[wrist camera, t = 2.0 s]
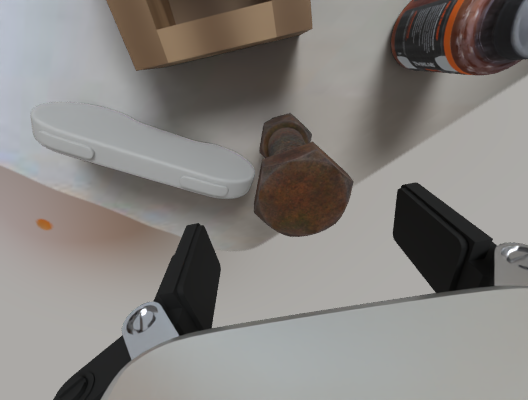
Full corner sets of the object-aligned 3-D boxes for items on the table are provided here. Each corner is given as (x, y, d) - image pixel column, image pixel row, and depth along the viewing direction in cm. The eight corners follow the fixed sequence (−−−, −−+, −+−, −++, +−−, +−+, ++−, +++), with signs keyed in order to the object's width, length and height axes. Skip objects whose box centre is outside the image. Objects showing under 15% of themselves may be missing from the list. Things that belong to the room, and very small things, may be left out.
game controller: (74, 117, 25) (1, 142, 18) (73, 95, 24) (-6, 112, 17) (250, 174, 29) (247, 212, 22) (256, 157, 27) (255, 192, 20)
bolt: (296, 157, 27) (329, 246, 15) (253, 150, 27) (250, 235, 14) (310, 105, 24) (367, 159, 12) (262, 96, 24) (268, 142, 11)
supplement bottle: (395, 82, 24) (491, 100, 14) (380, 16, 21) (487, -18, 11) (459, 48, 22) (615, 41, 12) (453, -28, 19) (647, -111, 10)
